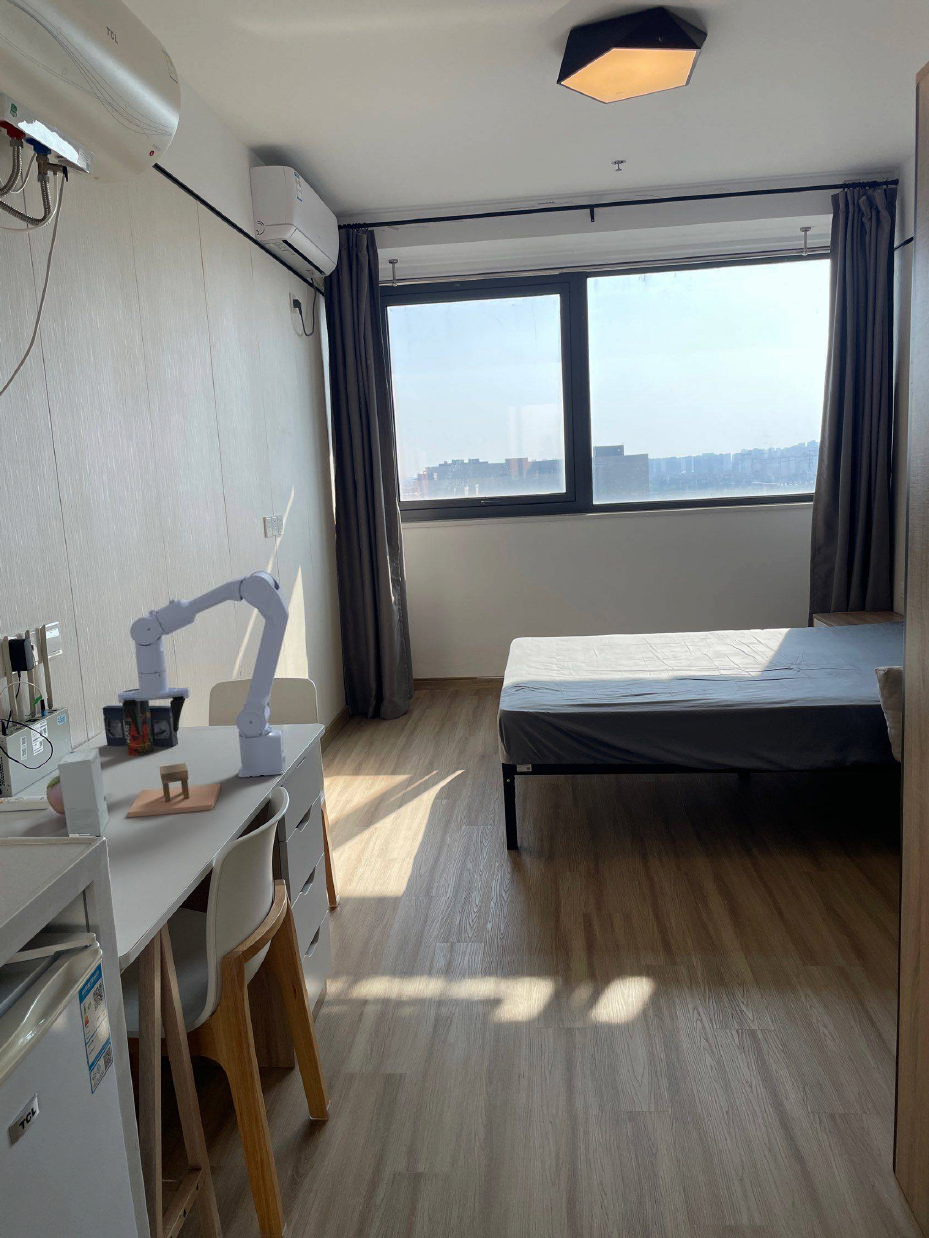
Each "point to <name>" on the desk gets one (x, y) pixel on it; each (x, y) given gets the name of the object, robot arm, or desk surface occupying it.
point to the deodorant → (144, 741)
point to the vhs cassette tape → (159, 724)
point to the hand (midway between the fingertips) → (158, 732)
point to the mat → (175, 800)
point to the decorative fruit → (55, 795)
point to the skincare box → (83, 792)
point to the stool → (174, 779)
